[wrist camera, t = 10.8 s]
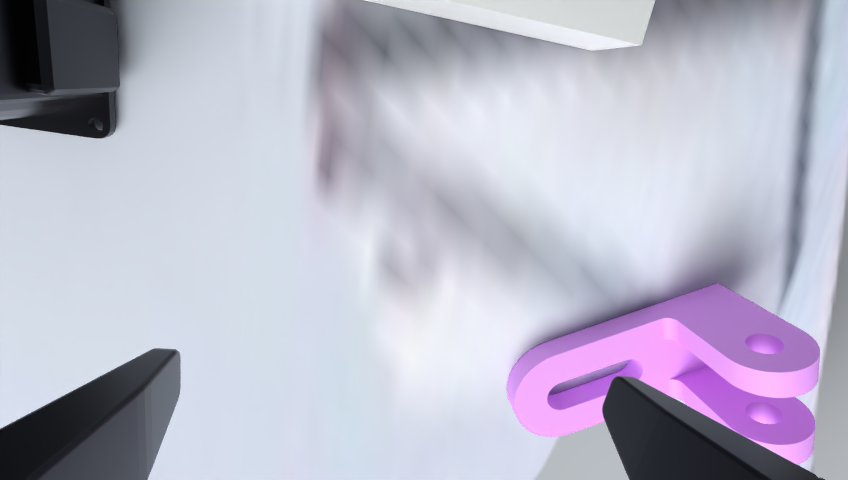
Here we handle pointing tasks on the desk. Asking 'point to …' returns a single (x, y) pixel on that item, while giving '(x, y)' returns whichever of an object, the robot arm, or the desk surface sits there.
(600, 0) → the hole block
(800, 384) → the bracket
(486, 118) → the desk surface
